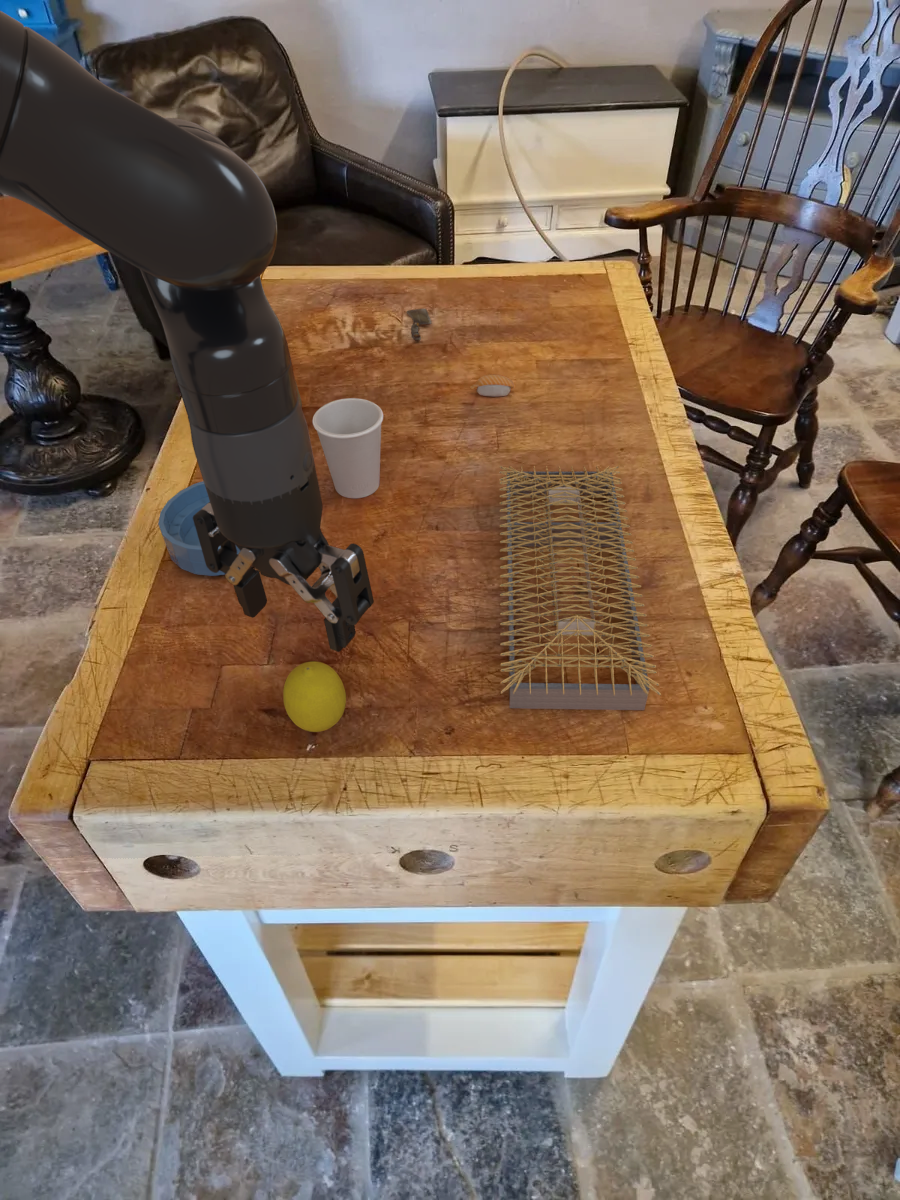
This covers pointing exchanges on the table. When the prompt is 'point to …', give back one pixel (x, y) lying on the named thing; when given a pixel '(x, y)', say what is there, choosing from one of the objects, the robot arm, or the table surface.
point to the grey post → (418, 321)
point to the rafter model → (572, 534)
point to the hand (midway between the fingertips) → (298, 626)
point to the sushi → (493, 385)
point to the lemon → (314, 696)
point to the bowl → (185, 529)
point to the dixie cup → (351, 444)
